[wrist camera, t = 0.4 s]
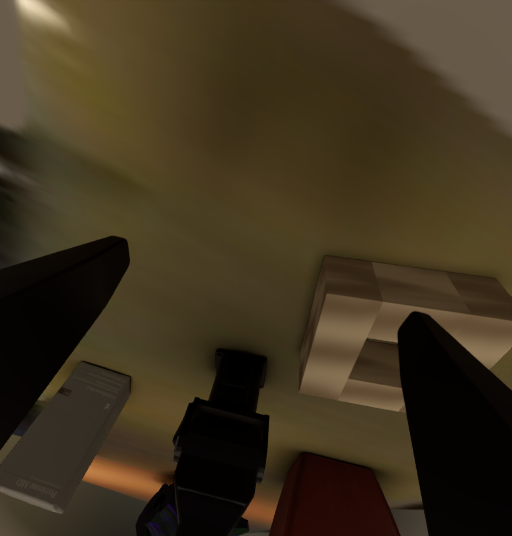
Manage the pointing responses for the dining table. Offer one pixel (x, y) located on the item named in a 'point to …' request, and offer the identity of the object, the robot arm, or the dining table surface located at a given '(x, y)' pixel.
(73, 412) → the skincare box
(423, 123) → the dining table surface
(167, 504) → the decorative plant
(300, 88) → the dining table surface
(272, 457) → the dining table surface
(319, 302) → the socket block
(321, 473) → the plant pot
